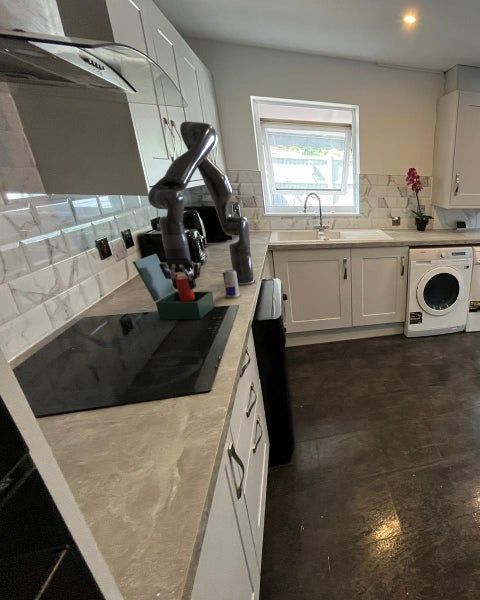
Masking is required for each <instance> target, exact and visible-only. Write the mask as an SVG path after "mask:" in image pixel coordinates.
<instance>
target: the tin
mask: <svg viewBox="0 0 480 600" xmlns="http://www.w3.org/2000/svg"><path fill="white" fill-rule="evenodd" d="M175 280H176V284H177V289H176V290H177V291H178V293H179V298H180V301H183V302H186V301H192V300H194V299H195V295H194V292H195V290H194V289H190V284H189V279H188V277H187V276H186V275H179V276H178V277H176V278H175Z"/></svg>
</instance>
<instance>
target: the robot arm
mask: <svg viewBox="0 0 480 600" xmlns="http://www.w3.org/2000/svg"><path fill="white" fill-rule="evenodd" d="M179 131H180V136H181V139H182V141H183V143H184V146H185V147H186V149H187V150H186V151H185V152H184V153H182V154H181V155H180V156H178V157H177V158H175V159H174V160H173V161H172V162H171V163H170V165H169V167H168V169H167V171H166V172H165V174H164V176H163V177H161V178H160V179H159V180H158V181H157V182H155V184H153V185H152V187H151V188H150V190H149V191H148V195H147V200H148V203H149V204H150V206H151V207H152V208H154V209H158V210H167V212H166V215H164V216H162V217H160V218H159V219H158V224H159V228H160V232H161V241H162V245H163V250H164V253H165V254H164V255H165V258H166V259H167V261H166V262H165V261H164V262H161V264H159V266H160V268H161V270H162V272H163V274H164V276H165V278H166V279H169V280H170V281H171V283H172V285H173V287H174V289H175V290H178V289H177V284H176V280H175V278H176V277H179V276H178V275H179V273H183V274H184V276H187V277H188V279H189V284H190V289H193V290H194V289H196V287H197V282H196V280H197V279H199V278H200V277H201V266H202V265H201V262H194V261H192V259H191V252H190V247H189V242H188V238H187V235H186V232H185V231H186V230H185V225H184V212H185V199H184V197H183V195H182V193H181V192H182V191H184V190H185V189H187V187H188V185H189V183H190V181H191V179H192V177H193V176H194V173H195V172H196V171H197V169H198V171H199V174H200V176H201V178H202V181H203V184H204V185H205V188H206V191H207V192H208V194H209V196H210V199H211V201H212V203H213V206H214V208H215V210H216V213H217V217H218V220H219V223H220V225H221V228H222V231H223V232H224V234H225V235H227V236H232V237H238V240H236V241H233V242H231V243H230V244H229V245H228V250H229V254H230V261H231V267H232V269H231V270H235V271H236V274H237V281H238V286H246V285H251V284H253V283H255V278H254V277H255V276H254V269H253V260H252V253H251V237H250V225H249V221H248V219H247V218H246V217H245V216H232V215H230V212H229V204H230V200H231V199H232V193H233V191H232V187H231V185H230V182H229V180H228V177H227V176H226V174H225V172H224V171H223V170H221V168H220V167H218V165H216V163H215V162H214V161H212V159H211V158H210V157H209V154H210V153H211V152H212V151H213V150H214V148H215V147H216V145H217V142H218V134H217V131H216V129H215V128H214V127H213V126H212V125H211V124H210V123H207V122H201V121H190V120H189V121H188V120H187V121H183V122H181V123H180V127H179ZM191 267H192V268H191Z"/></svg>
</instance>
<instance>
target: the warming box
mask: <svg viewBox="0 0 480 600" xmlns="http://www.w3.org/2000/svg"><path fill="white" fill-rule="evenodd" d="M194 295H195V299H194V300H192V301H186V302H183V301H180V298H179V293H178V290H177V291H176V290H174V291H173V292H171V293H169V294H167V295H166V296H164V297H162V298H161V299H159V300H157V301H155V305H156V311H157V313H158V314H157V315H158V317H159V320H202V318H204V317H205V316H206V315H207V314H209V312H211V311H212V310H213V309H214V308H215V307H216V306H215V301H214V293H213V291H194Z"/></svg>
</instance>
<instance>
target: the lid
mask: <svg viewBox="0 0 480 600" xmlns="http://www.w3.org/2000/svg"><path fill="white" fill-rule="evenodd" d="M161 263H162V262H161V260H160V259H159V257H158V255H157V253H154V254H151V255H148V256H145V257H142V258H140V259H137V260H134V261H132V264H133V266H134V268H135V269H136V271H137V273H138V275H139V276H140V278H141V280H142V282H143V284H144V286H145V287H146V289H147V291H148V292H149V295H150V296H151V298H152V300H153V301H154V302H157V301H159V300H161V299H163V298H164V297H166V296H168V295H169V294H171V293H173V292H174V291H176V289H175V288H174V287H173V283H172V281H171V279H166V278H165V276H164V274H163V272H162V270H161V268H160V266H159V264H161Z"/></svg>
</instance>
